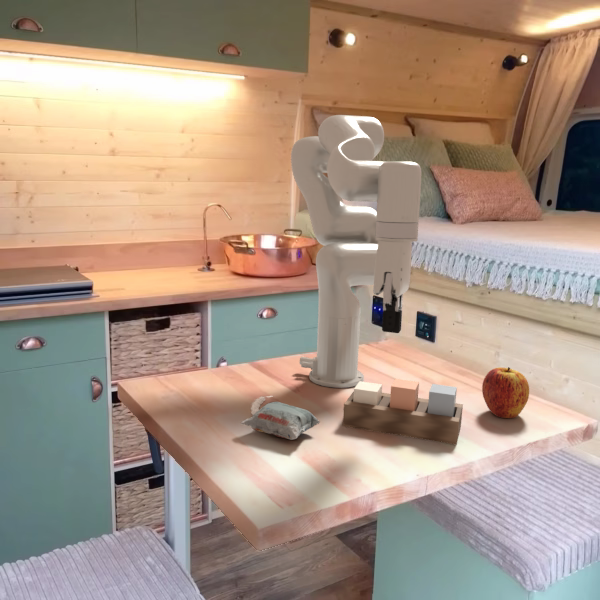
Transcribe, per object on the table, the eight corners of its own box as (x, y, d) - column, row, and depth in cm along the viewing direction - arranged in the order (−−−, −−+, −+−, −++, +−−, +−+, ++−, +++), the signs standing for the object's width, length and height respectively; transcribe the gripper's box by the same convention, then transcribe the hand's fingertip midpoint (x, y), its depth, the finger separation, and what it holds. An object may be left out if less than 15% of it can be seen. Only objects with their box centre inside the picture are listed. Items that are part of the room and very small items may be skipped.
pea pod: (255, 397, 131) (256, 389, 131) (276, 398, 131) (276, 391, 130) (239, 425, 117) (240, 417, 116) (263, 427, 116) (263, 419, 116)
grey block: (427, 417, 113) (429, 391, 112) (430, 408, 117) (432, 383, 116) (452, 421, 111) (454, 395, 110) (454, 412, 115) (456, 387, 114)
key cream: (352, 413, 117) (354, 388, 116) (358, 405, 122) (359, 381, 121) (375, 417, 116) (377, 392, 115) (380, 408, 120) (382, 384, 119)
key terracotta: (389, 411, 115) (391, 386, 114) (393, 403, 119) (395, 378, 118) (413, 415, 114) (415, 389, 112) (417, 406, 118) (419, 382, 117)
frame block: (342, 426, 116) (343, 404, 115) (354, 409, 125) (355, 388, 124) (456, 445, 110) (458, 421, 109) (460, 426, 118) (462, 404, 117)
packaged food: (296, 450, 105) (298, 423, 104) (239, 432, 111) (240, 407, 110) (320, 433, 113) (321, 407, 112) (265, 417, 118) (266, 393, 117)
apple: (470, 409, 127) (474, 362, 125) (504, 403, 130) (509, 358, 128) (500, 426, 119) (505, 377, 116) (536, 420, 122) (542, 372, 120)
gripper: (385, 228, 118) (381, 321, 122) (365, 233, 105) (360, 338, 108) (425, 230, 116) (419, 325, 119) (409, 236, 102) (403, 343, 106)
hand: (391, 331), depth 114 cm, fingers closed
